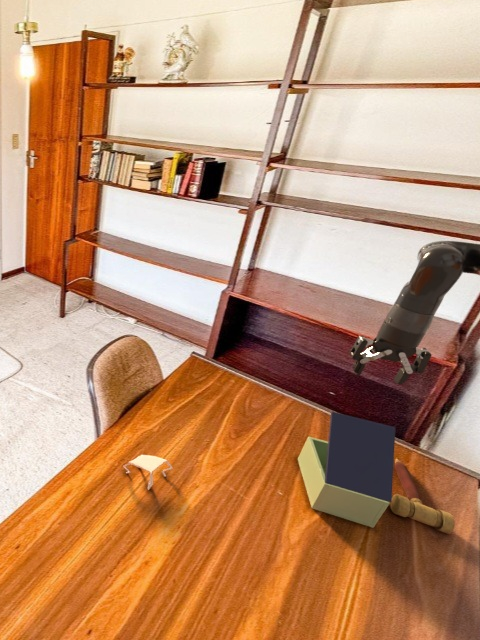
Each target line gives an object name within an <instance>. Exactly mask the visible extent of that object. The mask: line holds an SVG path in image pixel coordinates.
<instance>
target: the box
mask: <svg viewBox="0 0 480 640" xmlns="http://www.w3.org/2000/svg"><path fill="white" fill-rule="evenodd" d="M327 452H328V440H323V439H319V438H316V437H312V436H307V438H306V440H305V442H304V444H303V446H302V449H301V451H300V453H299V455H298V457H297V463H298V466H299V469H300V473H301V476H302V479H303V480H302V481H303V483H304V486H305V490H306V495H307V497H308V500H309V503H310V508H311V509H312V510H315V511H319V512H322V513H325V514H328V515H332V516H335V517H338V518H340V519H344V520H347V521H351V522H353V523H356V524H360V525H363V526H365V527H369V528H372V529H373V528H375V526H376V525H377V523H378V522H379V520H380V519H381V518H382V516H383V514H384V513H385V511H386V510H387V509H388V507H389V506H390V505H391V502H387V501H384V500H381V499H377V498H374V497H371V496H367V495H364V494H361V493H357V492H354V491H350V490H347V489H344V488H340V487H337V486H334V485H330V484H327V483H325V475H326V463H327Z"/></svg>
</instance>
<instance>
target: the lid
mask: <svg viewBox="0 0 480 640" xmlns="http://www.w3.org/2000/svg"><path fill="white" fill-rule="evenodd" d="M395 441H396V426H392V425H388V424H384V423H379V422H375V421H371V420H367V419H364V418H359V417H355V416H352V415H348V414H344V413H339V412H336V411H330V419H329V431H328V440H327V442H328V452H327V463H326V475H325V483H327V484H330V485H334V486H337V487H340V488H344V489H347V490H350V491H354V492H357V493H361V494H364V495H367V496H371V497H374V498H377V499H381V500H384V501H387V502H389V503H391V502H392V497H393V484H394V465H395V445H396V444H395V443H396V442H395Z"/></svg>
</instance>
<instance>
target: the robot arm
mask: <svg viewBox="0 0 480 640" xmlns="http://www.w3.org/2000/svg"><path fill="white" fill-rule="evenodd" d="M416 260H417V265H416V267H415V270H414V272H413V274H412V276H411V278H410V280H409V281H407V282H406V283H405V284H404V285H403V287H402V288H401V290H400V292H399V294H398V296H397V298H396V299H395V301H394V303H393V304H392V305H391V307H390V308H389V310H388V312H387V314H386V316H385V318H384V320H383V322H382V323H381V324H380V325H381V326H380V327H379V329H378V331H377V334H376V337H374V338H373V339H371V338H368V337H365V336H364V335H363V334H362V335H358V337H357V338H356V340H355V342H354V343H353V345H352V346H351V349H350V350H349V355H350V356H351V359H352V360H354V363H353V364H352V365H353V366H352V371H353V373H354V374H355V375H356V376H361V375H362V373H363V370H364V369H365V367H366V363H369V362H371V361H376V360H379V359H380V360H384V361H391V362H394V363H398V362H399V363H400V365H401V367H399V369H398V371H397V373H396V374H395V376H394V378H393V380H394V382H395V384H397V385H400V386H401V385H403V384H405V383H407V381H408V379H409V377H410V375H412V374H413V373H417V374H420V375H421V374H423V373H424V372H425V369H426V367H427V366H428V365H429V362H430V360H431V358H432V356H433V355H432V353H431V352H430V351H429V350H428V349H427V348H426V347H421V348H418V347H419V345H420V344H421V342H422V340H423V339H424V337H425V335H426V333H427V332H428V330H429V329H430V326H431V324H432V323H433V321H434V317H435V315H436V313H437V312H438V309H439V307H440V306H441V304H442V303H443V301H444V299H445V297H446V295H447V294H448V293H449V292H450V291H451V290H452V288H453V287H454V286H455V284H456V283H457V282H458V281H459V279H460V278H461V276H462V275H463V273H465V274H473V275H477V276H480V243H474V242H465V241H458V240H436V241H432V242H431V241H430V242H429V243H426V244H425V245H423V246H421V248H419V250H418V252H417V255H416ZM369 346H371V347H369ZM414 355H415V356H416V357H415V359H414V361H413V363H412V364H411V363H410V361H409V359H408V358H410V357H412V356H414Z"/></svg>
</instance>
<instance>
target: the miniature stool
mask: <svg viewBox="0 0 480 640" xmlns="http://www.w3.org/2000/svg"><path fill="white" fill-rule="evenodd" d="M164 464H166V466H168V468H166V469H163V470H161V473H162V475H163V477H167V475H166V473H165V472H166V471H170V470H173V469H174V467H173V466H172V464H171V463H170V462H169V461H168V460H167V459H165V458H162V457H159V456H155V455H149V454H141V455H138V456H137V457H136V458H134V459H132V460H130V461H129V460H128V462H127V463H125V464H123V465H122V467H123V468H124V469H125V470H126V472H125V474H130V473H131V470H129V469H128V468H127V467H128V466H131V465H132V466H134V467H137V468H139V469H141V470H143V471H145V472H148V473H149V481H148V484H147V490H148V491H149V490H150V489H151V487H153V485H154V472H155V471H156V470H158V469H159V468H160V467H161V466H162V465H164Z"/></svg>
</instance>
